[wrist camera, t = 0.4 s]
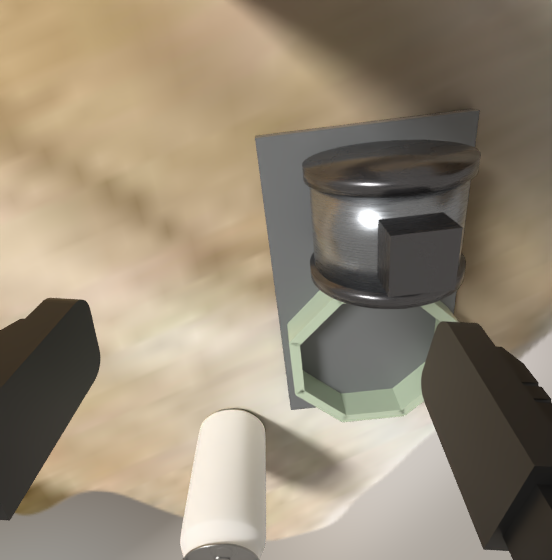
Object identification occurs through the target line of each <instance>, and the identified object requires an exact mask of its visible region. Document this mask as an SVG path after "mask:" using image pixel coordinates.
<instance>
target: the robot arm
mask: <svg viewBox="0 0 552 560" xmlns="http://www.w3.org/2000/svg"><path fill="white" fill-rule="evenodd" d="M99 366H100V350H99V346H98V342H97V337H96V333H95V329H94V324H93V320H92V315H91V311H90V307H89V305H88V303H87V302H86V301H85V300H78V299H60V298H47V299H45V300H44V301H43V302H42V303H41V304H40V305H39V306H38V307H37V308H36V309H35V310H34V311H33V312H31V313H30V314H29V315H28V316H27V317H26V318H25V319H20V320H18V321H16V322H14V323H12V324H11V325H9V326H7V327H5V328H4V329H2V330H0V520H10V519H11V518H12V516H13V514H14V513H15V511H16V509H17V508H18V506H19V504H20V503H21V501H22V499H23V498H24V496H25V494H26V493H27V491H28V490H29V488H30V486H31V485H32V483H33V481H34V480H35V478H36V476H37V475H38V473H39V471H40V470H41V468H42V466H43V465H44V463H45V461H46V460H47V458H48V457H49V455H50V453H51V452H52V450H53V448H54V447H55V445H56V443H57V442H58V440H59V438H60V437H61V435H62V433H63V432H64V430H65V428H66V427H67V425H68V423H69V422H70V420H71V419H72V417H73V415H74V414H75V412H76V410H77V409H78V407H79V405H80V404H81V402H82V400H83V399H84V397H85V395H86V394H87V392H88V390H89V389H90V387H91V386H92V384H93V382H94V381H95V379H96V377H97V374H98V371H99ZM421 390H422V396H423V399H424V402H425V404H426V407H427V409H428V412H429V414H430V417H431V419H432V422H433V424H434V427H435V429H436V432H437V434H438V437H439V439H440V442H441V444H442V447H443V449H444V452H445V454H446V457H447V459H448V462H449V464H450V467H451V469H452V472H453V474H454V477H455V479H456V482H457V484H458V487H459V489H460V491H461V494H462V496H463V499H464V502H465V504H466V506H467V509H468V512H469V514H470V517H471V519H472V522H473V524H474V527H475V529H476V532H477V534H478V537H479V539H480V542H481V544H482V547H483V549H485V550H503V551H509V552H510V554H511V556H512V558H513V560H552V403H551V398H550V397H549V396H548V395H547V393H546V392H545V391H544V389H543V388H542V387H539V386H538V382H537V380H536V379H535V378H534V377H533V375H532V374H531V373H530V371H529V370H528V369H527V368H526V366H525V365H524V364H523V363H522V362H521V361H519V360H518V359H517V358H515V357H514V356H513V355H511V354H510V353H509V352H507V351H506V350H505V349H504V348H502V347H496V346H495V345H494V344H493V342H492V341H491V339H490V338H489V337H488V335H487V334H486V333H485V331H484V330H483V328H482V327H481V326H480V325H479V324H477V323H465V322H448V321H442V322H440V323H439V324H438V325H437V327H436V330H435V333H434V336H433V339H432V342H431V346H430V349H429V352H428V355H427V358H426V361H425V364H424V368H423V371H422V376H421Z"/></svg>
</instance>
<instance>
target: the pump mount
mask: <svg viewBox="0 0 552 560" xmlns="http://www.w3.org/2000/svg"><path fill="white" fill-rule="evenodd" d="M479 112H480V110H475V109H467V110H459V111H451V112H443V113H435V114H427V115H419V116H411V117H403V118H395V119H387V120H379V121H371V122H363V123H355V124H347V125H339V126H331V127H322V128H314V129H306V130H298V131H290V132H282V133H274V134H266V135H258V136H255V141H256V149H257V156H258V164H259V171H260V179H261V187H262V194H263V202H264V209H265V217H266V224H267V232H268V240H269V247H270V255H271V262H272V270H273V277H274V285H275V293H276V300H277V308H278V315H279V323H280V330H281V338H282V345H283V353H284V361H285V368H286V376H287V383H288V391H289V398H290V406H291V410H296V409H305V408H315V407H317V408H319V409H320V410H322V411H324V412H326V413H327V414H329V415H331V416H333V417H334V418H336V419H338V420H339V421H341V422H351V421H361V420H371V419H380V418H390V417H400V416H404V415H407V414H408V413H409V412H411V411H412V410H413V409H414V408H416V407H417V406H418V405H420V404H421V403H422V402H424V399H423V396H422V390H421V376H422V371H423V368H424V364H425V361H426V358H427V355H428V352H429V349H430V346H431V342H432V339H433V336H434V333H435V330H436V327H437V325H438V324H439V323H440V322H442V321H448V322H459V321H458V320H457V319H456V317H455V316H454V307H455V299H456V291H457V290H456V291H455V292H454V293H453V294H451V295H450V296H448V297H447V298H444V299H442V300H440V301H438V302H435V303H432V304H428V305H424V306H420V307H413V308H406V309H373V308H365V307H359V306H355V305H350V304H347V303H344V302H341V301H338V300H336V299H333V298H331V297H329V296H328V295H326V294H324V293H323V292H322V291H320V290H319V289H318V288H317V287H316V286H315V284H314V283H313V281H312V278H311V270H310V258H311V256H312V254H313V252H314V246H313V232H312V218H311V205H310V191H309V187H308V186H307V185H306V184H305V183H304V181H303V169H302V163H303V161H304V160H305V159H307V158H308V157H310V156H312V155H314V154H317V153H320V152H323V151H326V150H330V149H334V148H338V147H343V146H348V145H354V144H361V143H368V142H378V141H391V140H439V141H449V142H456V143H462V144H466V145H469V146H472V147H475V143H476V135H477V127H478V120H479ZM470 182H471V180H470ZM469 190H470V188H469ZM468 198H469V196H468ZM467 205H468V203H467ZM466 213H467V211H466ZM465 221H466V219H465ZM464 229H465V227H464ZM463 237H464V235H463ZM462 244H463V242H462ZM461 252H462V250H461Z"/></svg>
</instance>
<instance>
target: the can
mask: <svg viewBox="0 0 552 560" xmlns="http://www.w3.org/2000/svg"><path fill="white" fill-rule="evenodd" d="M265 542H266V436H265V428H264V425H263V424H262V422H261V421H260V420H259V419H258V418H257V417H256V416H254V415H253V414H251V413H249V412H247V411H245V410H241V409H225V410H220V411H218V412H215V413H213V414H212V415H210V416H209V417H207V418H206V419H205V420H204V422H203V423H202V425H201V427H200V431H199V436H198V442H197V447H196V452H195V458H194V463H193V469H192V474H191V480H190V485H189V491H188V497H187V502H186V508H185V514H184V519H183V525H182V532H181V540H180V543H181V549H182V553H183V557H184V558H183V560H260V557H261V555H262V553H263V550H264V548H265Z"/></svg>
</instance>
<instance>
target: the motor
mask: <svg viewBox="0 0 552 560" xmlns="http://www.w3.org/2000/svg"><path fill="white" fill-rule="evenodd" d="M480 156H481V153H480V151H479V150H478V149H476V148H475V147H472V146H469V145H466V144H462V143H456V142H449V141H439V140H391V141H378V142H368V143H361V144H354V145H348V146H343V147H338V148H334V149H330V150H326V151H323V152H320V153H317V154H314V155H312V156H310V157H308V158H307V159H305V160H304V161H303V163H302V169H303V181H304V183H305V184H306V185H307V186H308V187H309V191H310V205H311V218H312V232H313V246H314V252H313V254H312V256H311V258H310V270H311V278H312V281H313V283H314V284H315V286H316V287H317V288H318V289H319V290H320V291H322V292H323V293H324V294H326V295H328V296H329V297H331V298H333V299H336V300H338V301H341V302H344V303H347V304H350V305H355V306H359V307H365V308H373V309H406V308H413V307H420V306H424V305H428V304H432V303H435V302H438V301H440V300H442V299H444V298H447V297H448V296H450V295H451V294H453V293H454V292H455V291H456V290H458V289H459V287H460V286H461V285H462V282H463V280H464V273H465V266H466V261H465V257H464V255H463V254H462V252H461V250H462V242H463V235H464V227H465V219H466V211H467V203H468V196H469V188H470V180H471V179H473V178H474V177H475V176H476V175H477V174H478V171H479V163H480Z"/></svg>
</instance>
